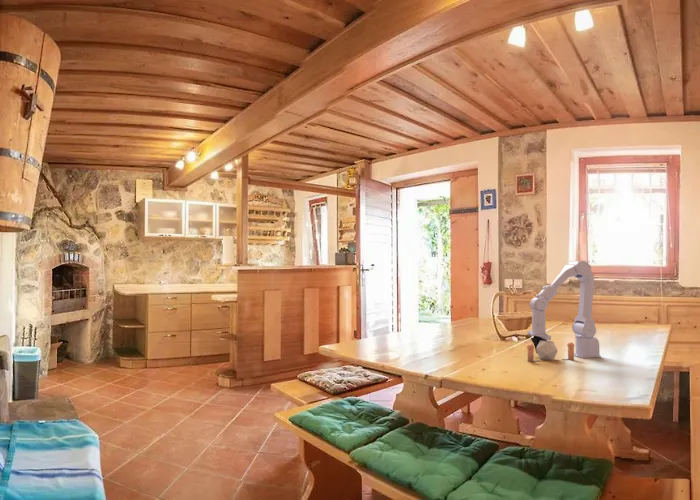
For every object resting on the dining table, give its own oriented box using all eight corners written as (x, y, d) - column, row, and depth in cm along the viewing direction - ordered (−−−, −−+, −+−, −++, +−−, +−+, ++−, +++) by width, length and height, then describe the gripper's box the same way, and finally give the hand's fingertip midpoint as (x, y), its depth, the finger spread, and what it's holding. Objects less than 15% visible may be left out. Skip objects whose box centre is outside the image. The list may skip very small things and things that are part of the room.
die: (558, 359, 191) (545, 340, 196) (565, 353, 183) (551, 333, 189) (542, 366, 190) (529, 347, 195) (547, 361, 183) (534, 340, 188)
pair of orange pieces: (571, 358, 190) (571, 341, 190) (576, 360, 187) (575, 342, 188) (525, 360, 186) (525, 343, 186) (529, 362, 183) (529, 344, 183)
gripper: (521, 321, 202) (522, 350, 201) (540, 326, 187) (541, 357, 187) (534, 321, 203) (535, 350, 203) (554, 325, 189) (555, 356, 188)
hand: (539, 353), depth 195 cm, fingers closed
